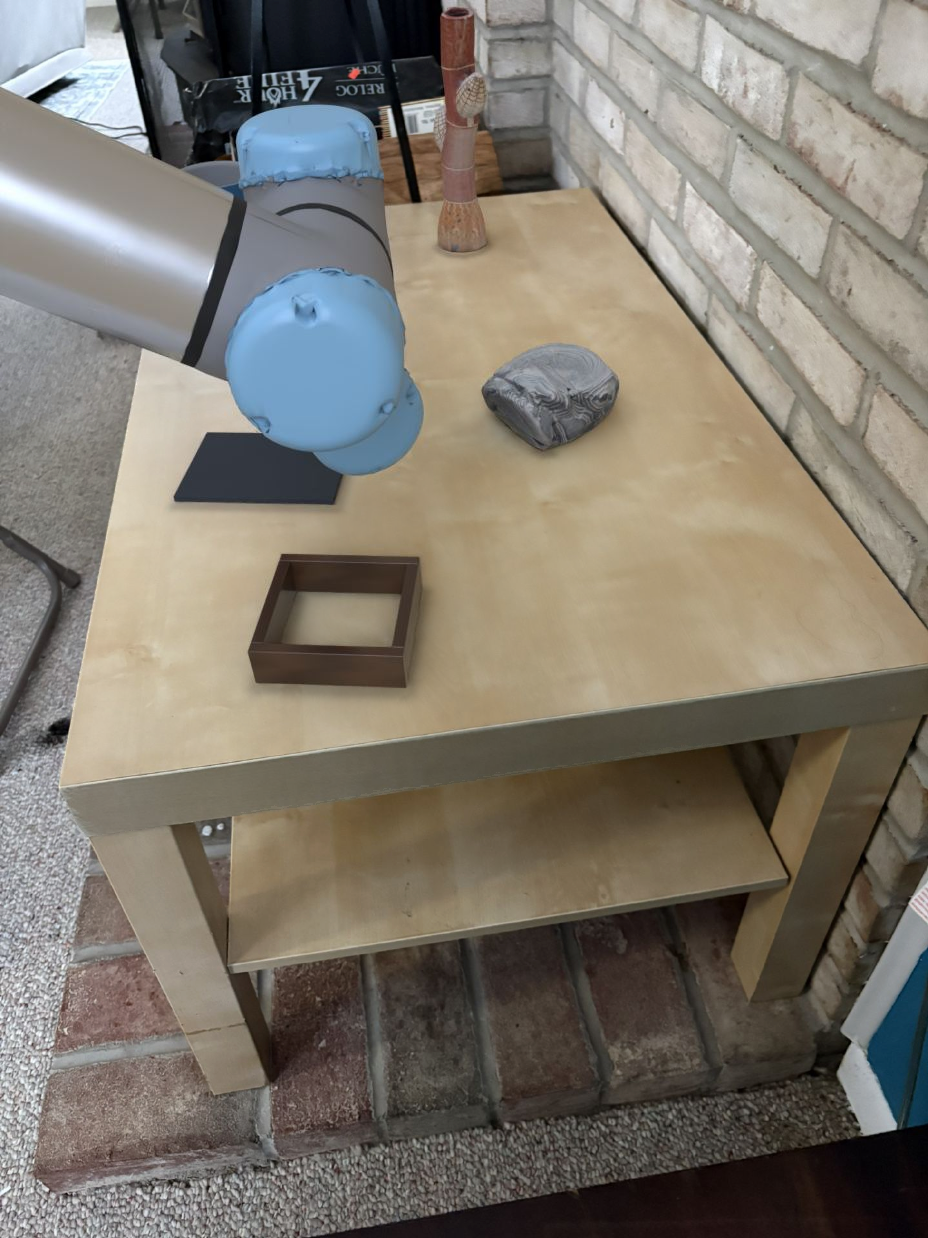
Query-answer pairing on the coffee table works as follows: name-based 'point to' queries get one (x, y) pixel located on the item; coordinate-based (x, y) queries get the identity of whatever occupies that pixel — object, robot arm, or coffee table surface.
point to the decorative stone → (552, 393)
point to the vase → (459, 133)
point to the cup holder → (329, 660)
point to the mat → (255, 472)
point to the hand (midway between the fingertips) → (212, 224)
